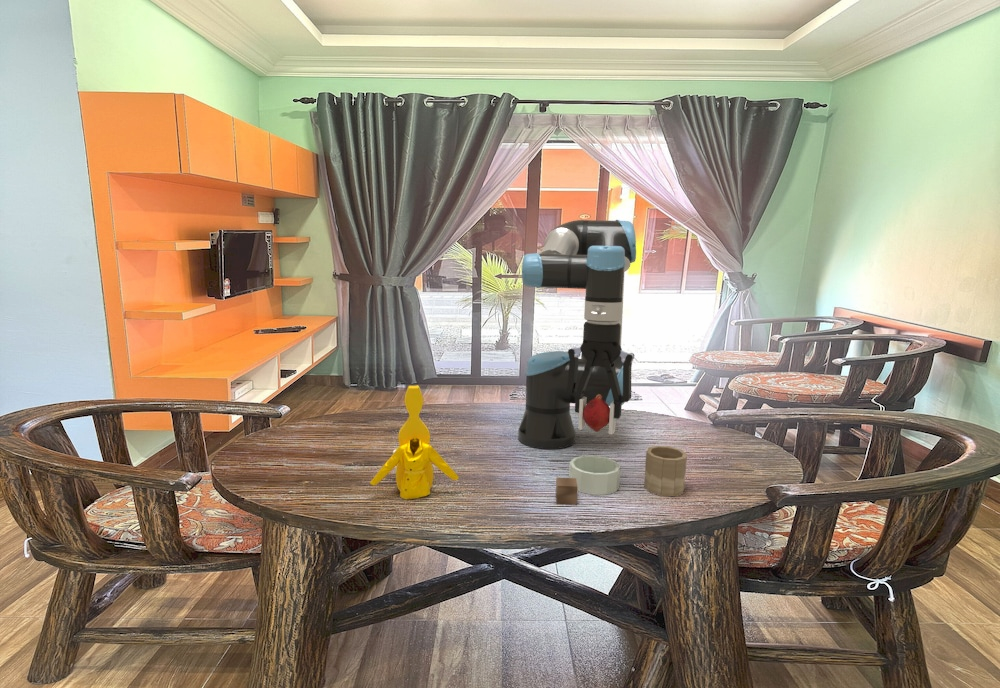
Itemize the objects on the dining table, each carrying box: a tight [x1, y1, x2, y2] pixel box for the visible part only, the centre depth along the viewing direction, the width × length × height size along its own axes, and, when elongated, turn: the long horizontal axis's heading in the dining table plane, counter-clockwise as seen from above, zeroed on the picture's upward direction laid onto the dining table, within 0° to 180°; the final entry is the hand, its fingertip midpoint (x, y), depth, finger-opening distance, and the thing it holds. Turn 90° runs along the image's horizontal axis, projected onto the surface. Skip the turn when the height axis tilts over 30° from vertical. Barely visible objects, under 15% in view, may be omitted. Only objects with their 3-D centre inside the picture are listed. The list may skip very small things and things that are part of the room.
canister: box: [643, 445, 688, 497], centre depth 118 cm, size 8×8×8 cm
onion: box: [583, 395, 610, 432], centre depth 117 cm, size 6×6×8 cm
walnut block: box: [555, 476, 578, 506], centre depth 112 cm, size 4×4×4 cm
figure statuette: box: [369, 384, 460, 500], centre depth 113 cm, size 18×8×22 cm, turn 100°
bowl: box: [568, 455, 621, 496], centre depth 120 cm, size 10×10×4 cm
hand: (596, 429), depth 118 cm, fingers closed on onion, 6 cm apart
